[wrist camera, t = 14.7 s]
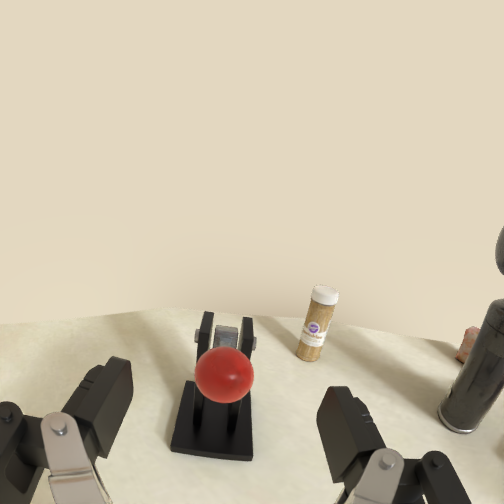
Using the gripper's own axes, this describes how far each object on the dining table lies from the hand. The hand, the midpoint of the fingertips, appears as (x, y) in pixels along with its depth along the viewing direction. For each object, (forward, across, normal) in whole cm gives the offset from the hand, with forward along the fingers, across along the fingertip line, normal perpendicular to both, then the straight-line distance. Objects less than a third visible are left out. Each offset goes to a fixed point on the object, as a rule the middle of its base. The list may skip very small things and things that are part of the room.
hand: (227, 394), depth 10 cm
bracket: (+15, 0, +20) cm, 25 cm away
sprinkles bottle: (+33, -16, +20) cm, 42 cm away
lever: (+9, 0, +7) cm, 12 cm away
